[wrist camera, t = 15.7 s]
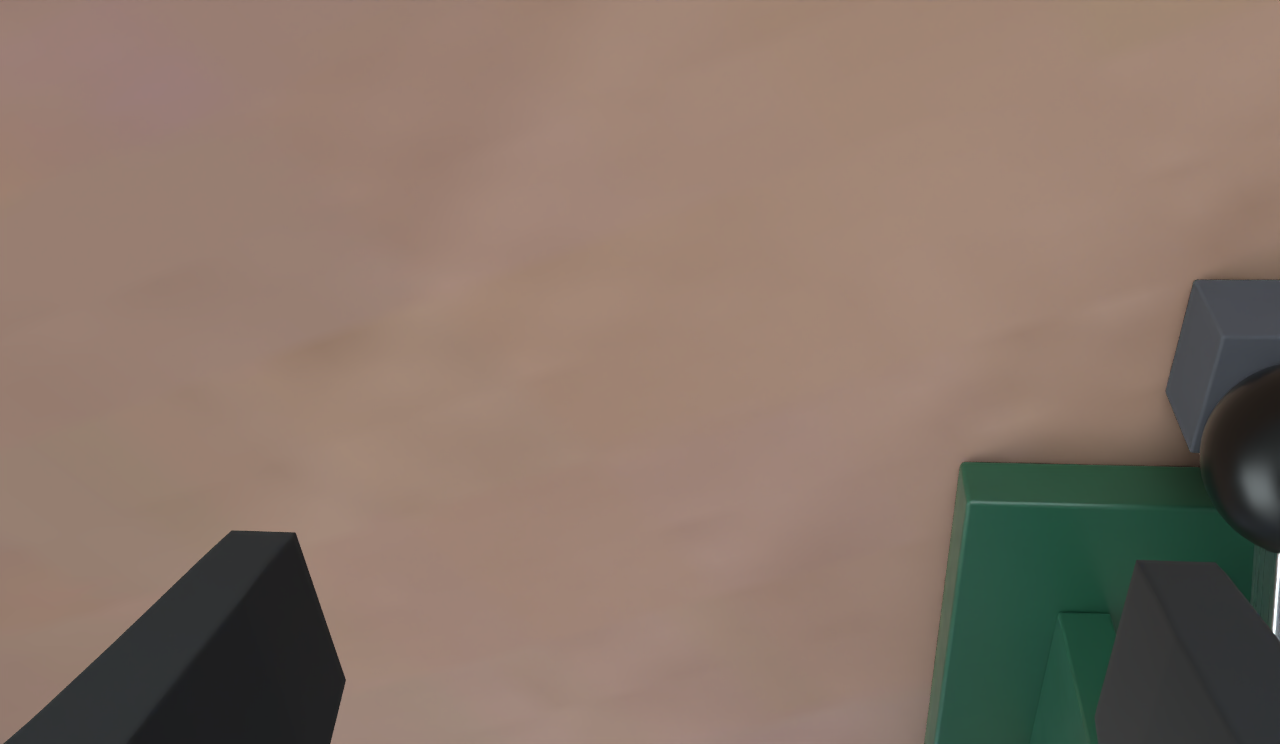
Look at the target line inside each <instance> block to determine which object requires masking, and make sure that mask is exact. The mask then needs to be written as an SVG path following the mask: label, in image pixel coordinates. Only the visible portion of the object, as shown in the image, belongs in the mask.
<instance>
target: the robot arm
mask: <svg viewBox="0 0 1280 744" xmlns="http://www.w3.org/2000/svg"><path fill="white" fill-rule="evenodd" d="M345 681H346V679H345V676H344V673H343V671H342V668H341V665H340V662H339V659H338V656H337V653H336V650H335V647H334V644H333V641H332V638H331V635H330V632H329V629H328V627H327V624H326V621H325V618H324V615H323V612H322V609H321V606H320V603H319V600H318V597H317V594H316V591H315V588H314V585H313V583H312V580H311V577H310V574H309V571H308V568H307V565H306V562H305V559H304V556H303V553H302V550H301V547H300V544H299V541H298V539H297V536H296V533H291V532H260V531H231V532H230V533H229V534H227V535H226V536H225V537H224V538H223V539H222V540H221V541H220V542H219V543H218V544H216V545H215V546H214V547H213V548H212V549H211V550H210V551H209V552H208V553H207V554H206V555H205V556H204V557H203V558H201V559H200V560H199V561H198V562H197V563H196V564H195V565H194V566H193V567H192V568H191V569H190V570H189V571H188V572H187V573H186V574H185V575H184V576H183V577H182V578H181V579H180V580H178V581H177V582H176V583H175V584H174V585H173V586H172V587H171V588H170V589H169V590H168V591H167V592H166V593H165V594H164V595H163V596H162V597H161V598H160V599H159V600H158V601H157V602H156V603H155V604H154V605H153V606H152V607H150V608H149V609H148V610H147V611H146V612H145V613H144V614H143V615H142V616H141V617H140V618H139V619H138V620H137V621H136V622H135V623H134V624H133V625H132V626H131V627H130V628H129V629H128V630H126V631H125V632H124V633H123V634H122V635H121V636H120V637H119V638H118V639H117V640H116V641H115V642H114V643H113V644H112V645H111V646H110V647H109V648H108V649H107V650H105V651H104V652H103V653H102V654H101V655H100V656H99V657H98V658H97V659H96V660H95V661H94V662H93V663H92V664H90V665H89V666H88V667H87V668H86V669H85V670H84V671H83V672H82V673H81V674H80V675H79V676H78V677H77V678H75V679H74V680H73V681H72V682H71V683H70V684H69V685H68V686H67V687H66V688H65V689H64V690H63V691H62V692H60V693H59V694H58V695H57V696H56V697H55V698H54V699H53V700H52V701H51V702H50V703H49V704H48V705H47V706H45V707H44V708H43V709H42V710H41V711H40V712H39V713H38V714H37V715H36V716H35V717H34V718H32V719H31V720H30V721H29V722H28V723H27V724H26V725H25V726H23V727H22V728H21V729H20V730H19V731H18V732H16V733H15V734H14V735H13V736H12V737H11V738H9V739H8V740H7V741H6V742H5V743H4V744H330V742H331V738H332V734H333V730H334V726H335V722H336V718H337V714H338V710H339V706H340V702H341V698H342V693H343V689H344V685H345ZM1094 718H1095V725H1096V732H1097V739H1098V744H1280V640H1279V639H1278V638H1277V637H1276V635H1275V634H1274V633H1273V632H1272V630H1271V629H1270V628H1269V627H1268V625H1267V624H1266V623H1265V622H1264V620H1263V619H1262V618H1261V617H1260V615H1259V614H1258V613H1257V612H1256V610H1255V609H1254V608H1253V606H1252V605H1251V604H1250V603H1249V601H1248V600H1247V599H1246V598H1245V596H1244V595H1243V594H1242V593H1241V591H1240V590H1239V589H1238V588H1237V586H1236V585H1235V584H1234V583H1233V581H1232V580H1231V579H1230V578H1229V576H1228V575H1227V574H1226V573H1225V572H1224V571H1223V570H1222V569H1221V568H1220V567H1219V566H1218V565H1217V564H1216V562H1188V561H1157V560H1136V563H1135V566H1134V570H1133V574H1132V578H1131V581H1130V585H1129V589H1128V593H1127V596H1126V600H1125V604H1124V608H1123V611H1122V615H1121V619H1120V623H1119V626H1118V630H1117V634H1116V638H1115V641H1114V645H1113V649H1112V653H1111V656H1110V660H1109V664H1108V668H1107V671H1106V675H1105V679H1104V683H1103V686H1102V690H1101V694H1100V698H1099V702H1098V705H1097V709H1096V713H1095V717H1094Z"/></svg>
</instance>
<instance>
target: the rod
mask: <svg viewBox="0 0 1280 744" xmlns="http://www.w3.org/2000/svg"><path fill="white" fill-rule="evenodd" d="M1200 470H1201V476H1202V480H1203V483H1204V486H1205V489H1206V491H1207V493H1208V496H1209V498H1210V500H1211V502H1212V504H1213V505H1214V507H1215V508H1216V510H1217V511H1218V513H1219V514H1220V515H1221V517H1222V518H1223V519H1224V520H1225V521H1226V522H1227V523H1228V524H1229V525H1230V526H1231V527H1232V528H1233V529H1234V530H1235V531H1236V532H1237V533H1239V534H1240V535H1241V536H1242V537H1244V538H1245V539H1247V540H1248V541H1250V542H1251V543H1253V544H1254V558H1253V572H1252V586H1251V600H1250V604H1251V605H1252V606H1253V608H1254V609H1255V610H1256V612H1257V613H1258V614H1259V615H1260V617H1261V618H1262V619H1263V620H1264V622H1265V623H1266V624H1267V625H1268V627H1269V628H1270V629H1271V630H1272V632H1273V633H1274V634H1275V635H1276V637H1277V638H1278V639H1279V640H1280V364H1277V365H1274V366H1271V367H1267V368H1265V369H1263V370H1260V371H1258V372H1256V373H1254V374H1252V375H1250V376H1249V377H1247V378H1245V379H1244V380H1242V381H1241V382H1239V383H1238V384H1237V385H1235V386H1234V387H1233V388H1231V389H1230V390H1229V391H1228V392H1227V393H1226V394H1225V395H1224V396H1223V397H1222V399H1221V400H1220V401H1219V402H1218V404H1217V405H1216V406H1215V408H1214V409H1213V411H1212V413H1211V414H1210V416H1209V418H1208V420H1207V423H1206V425H1205V427H1204V431H1203V434H1202V438H1201V445H1200Z"/></svg>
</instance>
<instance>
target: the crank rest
mask: <svg viewBox="0 0 1280 744" xmlns="http://www.w3.org/2000/svg"><path fill="white" fill-rule="evenodd" d="M1277 364H1280V280H1195V281H1194V282H1193V286H1192V290H1191V294H1190V298H1189V302H1188V306H1187V309H1186V313H1185V317H1184V321H1183V325H1182V329H1181V333H1180V337H1179V341H1178V345H1177V349H1176V352H1175V356H1174V360H1173V364H1172V368H1171V372H1170V376H1169V380H1168V384H1167V388H1166V394H1167V397H1168V399H1169V402H1170V404H1171V407H1172V409H1173V412H1174V414H1175V416H1176V419H1177V421H1178V424H1179V426H1180V429H1181V431H1182V434H1183V436H1184V438H1185V441H1186V443H1187V446H1188V448H1189V451H1190V452H1192V453H1200V445H1201V438H1202V434H1203V431H1204V427H1205V425H1206V423H1207V420H1208V418H1209V416H1210V414H1211V413H1212V411H1213V409H1214V408H1215V406H1216V405H1217V404H1218V402H1219V401H1220V400H1221V399H1222V397H1223V396H1224V395H1225V394H1226V393H1227V392H1228V391H1229V390H1230V389H1231V388H1233V387H1234V386H1235V385H1237V384H1238V383H1239V382H1241V381H1242V380H1244V379H1245V378H1247V377H1249V376H1250V375H1252V374H1254V373H1256V372H1258V371H1260V370H1263V369H1265V368H1267V367H1271V366H1274V365H1277Z"/></svg>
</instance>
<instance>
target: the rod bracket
mask: <svg viewBox="0 0 1280 744" xmlns="http://www.w3.org/2000/svg"><path fill="white" fill-rule="evenodd" d="M1253 558H1254V544H1253V543H1251V542H1250V541H1248V540H1247V539H1245V538H1244V537H1242V536H1241V535H1240V534H1239V533H1237V532H1236V531H1235V530H1234V529H1233V528H1232V527H1231V526H1230V525H1229V524H1228V523H1227V522H1226V521H1225V520H1224V519H1223V518H1222V517H1221V515H1220V514H1219V513H1218V511H1217V510H1216V508H1215V507H1214V505H1213V504H1212V502H1211V500H1210V498H1209V496H1208V493H1207V491H1206V489H1205V486H1204V483H1203V480H1202V476H1201V470H1200V467H1172V466H1127V465H1081V464H1036V463H991V462H963V463H962V464H961V466H960V469H959V477H958V485H957V493H956V500H955V508H954V516H953V524H952V532H951V539H950V547H949V555H948V563H947V570H946V578H945V586H944V594H943V602H942V609H941V617H940V625H939V633H938V640H937V648H936V656H935V664H934V672H933V679H932V687H931V695H930V703H929V711H928V718H927V726H926V734H925V742H924V744H1098V739H1097V732H1096V725H1095V718H1094V717H1095V713H1096V709H1097V705H1098V702H1099V698H1100V694H1101V690H1102V686H1103V683H1104V679H1105V675H1106V671H1107V668H1108V664H1109V660H1110V656H1111V653H1112V649H1113V645H1114V641H1115V638H1116V634H1117V630H1118V626H1119V623H1120V619H1121V615H1122V611H1123V608H1124V604H1125V600H1126V596H1127V593H1128V589H1129V585H1130V581H1131V578H1132V574H1133V570H1134V566H1135V563H1136V560H1157V561H1188V562H1216V564H1217V565H1218V566H1219V567H1220V568H1221V569H1222V570H1223V571H1224V572H1225V573H1226V574H1227V575H1228V576H1229V578H1230V579H1231V580H1232V581H1233V583H1234V584H1235V585H1236V586H1237V588H1238V589H1239V590H1240V591H1241V593H1242V594H1243V595H1244V596H1245V598H1246V599H1247V600H1248V601H1249V603H1250V600H1251V586H1252V572H1253Z"/></svg>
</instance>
